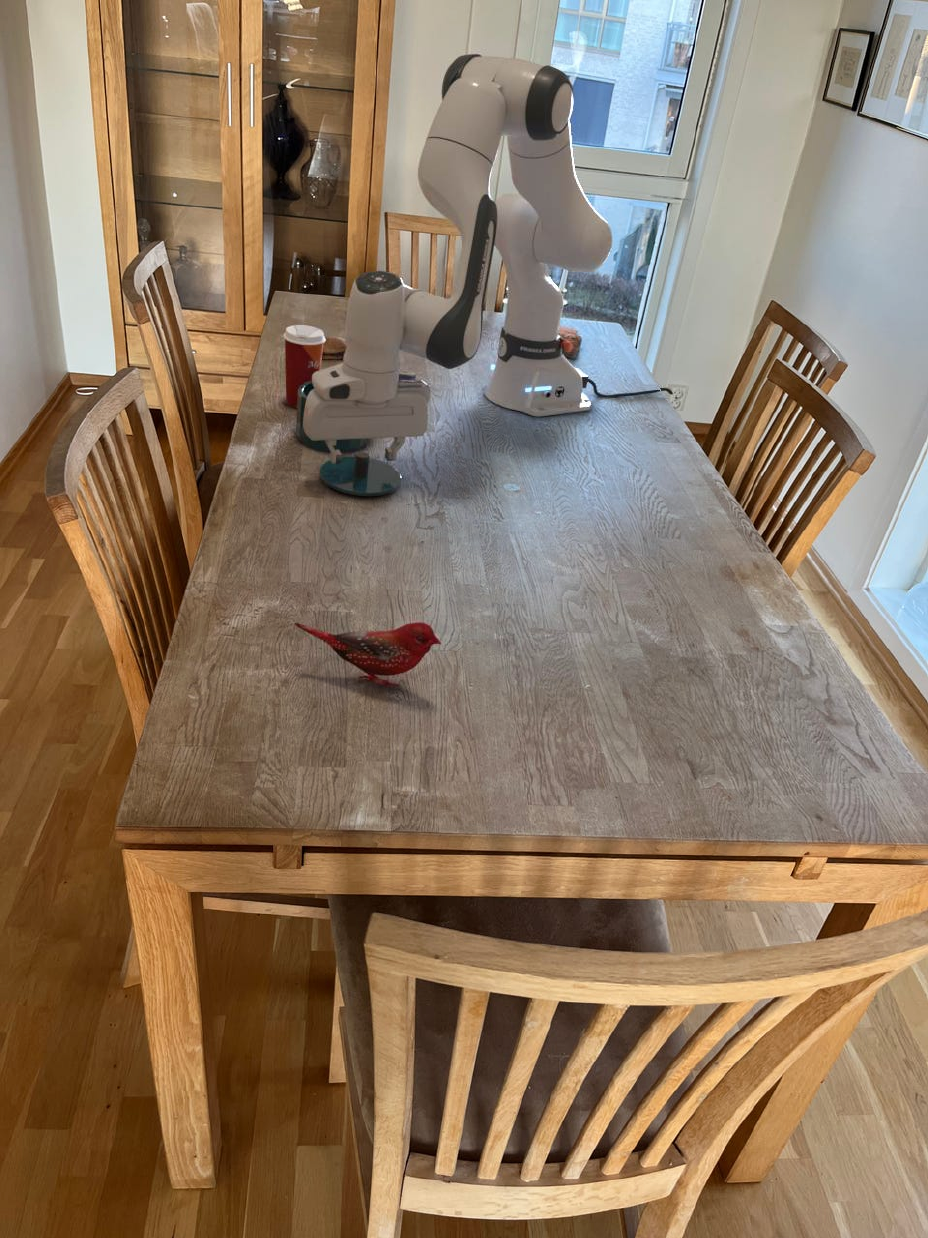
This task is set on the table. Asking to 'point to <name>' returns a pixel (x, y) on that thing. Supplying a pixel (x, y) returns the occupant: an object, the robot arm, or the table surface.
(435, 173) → the robot arm
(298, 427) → the pot
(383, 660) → the decorative bird figurine
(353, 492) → the pot lid
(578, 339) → the pottery shard
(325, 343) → the bread roll
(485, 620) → the table surface
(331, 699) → the table surface
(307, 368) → the paper cup
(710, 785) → the table surface
